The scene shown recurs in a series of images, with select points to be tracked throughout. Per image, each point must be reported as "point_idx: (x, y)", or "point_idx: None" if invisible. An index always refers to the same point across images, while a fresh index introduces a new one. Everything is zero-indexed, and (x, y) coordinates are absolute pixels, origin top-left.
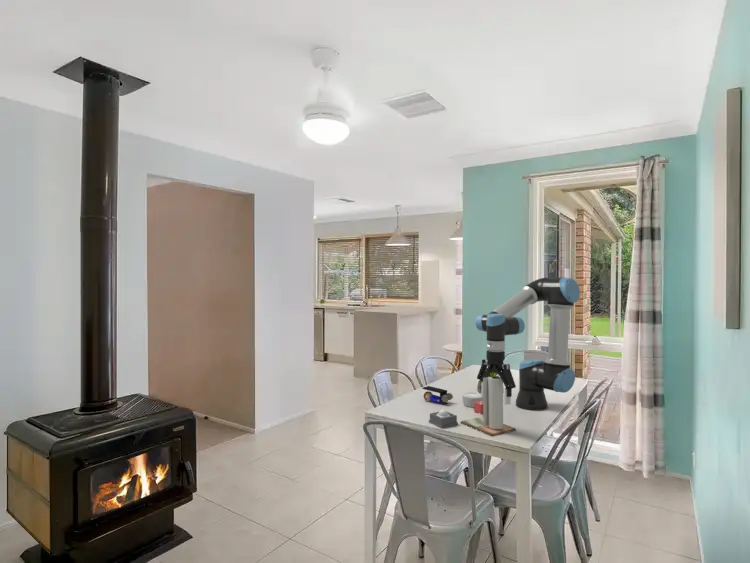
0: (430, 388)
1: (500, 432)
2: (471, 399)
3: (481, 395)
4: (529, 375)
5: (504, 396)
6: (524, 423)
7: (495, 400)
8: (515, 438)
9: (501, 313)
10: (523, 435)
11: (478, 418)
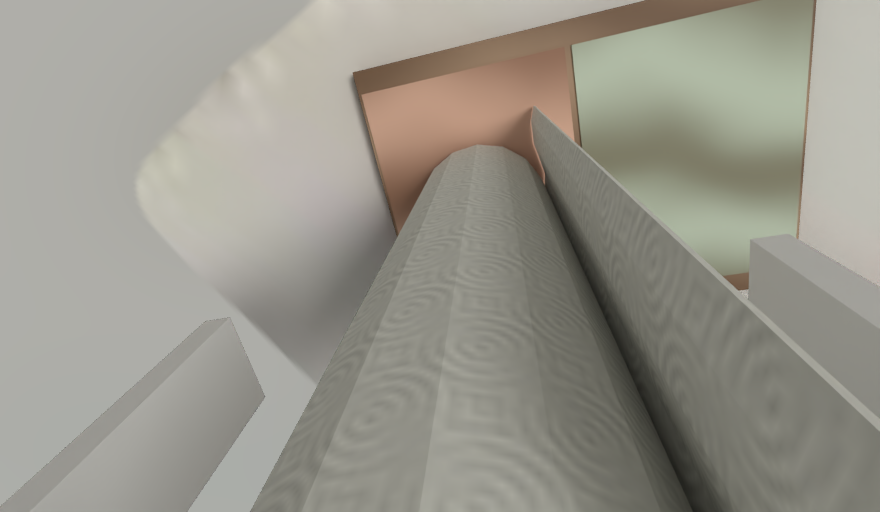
0: None
1: (382, 180)
2: None
3: (799, 244)
4: None
5: (144, 400)
6: None
7: (373, 283)
8: (280, 228)
9: None
10: (323, 311)
11: (773, 199)
